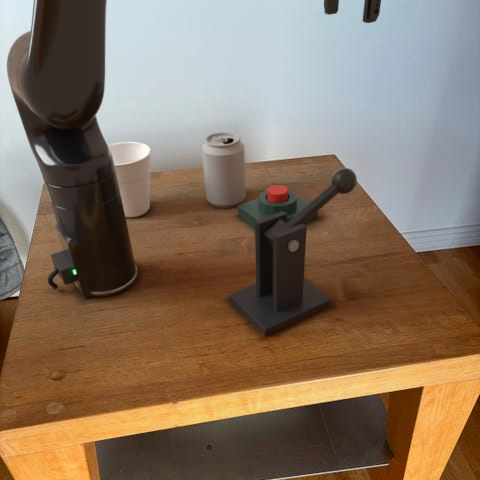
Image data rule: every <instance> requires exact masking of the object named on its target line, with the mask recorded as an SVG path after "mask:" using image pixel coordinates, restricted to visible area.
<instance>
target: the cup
mask: <svg viewBox="0 0 480 480" xmlns="http://www.w3.org/2000/svg"><path fill="white" fill-rule="evenodd" d="M109 146H110V149H111V152H112V156H113V160H114V165H115V170H116V174H117V179H118V184H119V189H120V194H121V198H122V203H123V208H124V213H125V217H126V218H136V217H141V216H142V215H144V214H146V213H147V212H148V211H149V209H150V207H151V191H150V190H151V154H152V148H151V147H150V146H149V145H148V144H145V143H143V142H138V141H122V142H120V141H119V142H114V143H110V144H109Z"/></svg>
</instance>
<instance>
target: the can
mask: <svg viewBox="0 0 480 480" xmlns="http://www.w3.org/2000/svg"><path fill="white" fill-rule="evenodd" d="M201 154H202V155H201V156H202V166H203V167H202V168H203V177H204V188H205V199H206V200H207V202H209V203H210V204H211V205H212V206H214V207H217V208H223V209H225V208H228V209H229V208H233V207H236V206H238V205H240V204H242V202H244V201H245V200H244V199H246V197H247V194H246V193H247V190H246V189H247V188H246V159H245V144H244V143H243V141H241V136H240V135H239V134H237V133H235V132H231V131H218V132H213V133H211V134H209V135H207V136H206V137H205V138H204V143H203V144H202V147H201Z"/></svg>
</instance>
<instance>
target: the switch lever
mask: <svg viewBox="0 0 480 480" xmlns="http://www.w3.org/2000/svg"><path fill="white" fill-rule="evenodd" d="M330 182H331V183H330V185H329V186H328V187H327V188H325V189H324V190H323V191H322V192H321V193H320V194H319V195H317V197H315V198H314V199H313V200H311V201H310V203H309V204H308V205H307V206H306V207H305V208H304V209H303V210H301V211H300V212H299V213H298V214H297V215H296V216H294V217H293V218H292V219H291V220H290V221H289V222H288V223H285V222H283V221H282V220H279V221H278V222H277V223H276V224H274V225H273V226H272V227H271V228H270V229H269V230H267V231H266V232H265V233H264V235H265V237H266V238H267V240H268V242H269V244H270V246H272V247H273V234H276V233H278V232H281V231H284V230H286V229H289V228H292V227H294V226H297V225H300V224H303V223H304V224H306V223H305V222H306V221H307V220H308V219H309V218H310V217H311V216H313V215H314V214H315V213H316V212H317V211H318V212H319V211H320V210H321V209H322V208H323V207H324V206H325V205H327V204H328V203H329V202H330V201H331V200H333V199H334V198H335V197H336V196H337V195H338V194H341V195H344V194H345V195H346V194H349V193H350V192H352V191H353V190H354V189H355V187H356V186H357V183H358V182H357V175H356V173H355V171H353V170H352V168H351V169H350V168H348V167H341V168H338V169H337V170H336V171H334V173H333V174H332V176H331V179H330ZM304 224H303V225H304Z"/></svg>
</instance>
